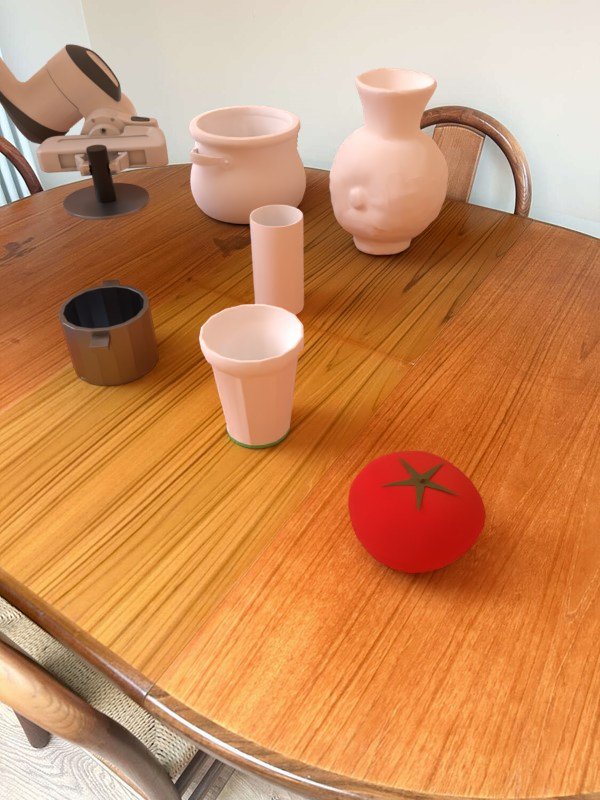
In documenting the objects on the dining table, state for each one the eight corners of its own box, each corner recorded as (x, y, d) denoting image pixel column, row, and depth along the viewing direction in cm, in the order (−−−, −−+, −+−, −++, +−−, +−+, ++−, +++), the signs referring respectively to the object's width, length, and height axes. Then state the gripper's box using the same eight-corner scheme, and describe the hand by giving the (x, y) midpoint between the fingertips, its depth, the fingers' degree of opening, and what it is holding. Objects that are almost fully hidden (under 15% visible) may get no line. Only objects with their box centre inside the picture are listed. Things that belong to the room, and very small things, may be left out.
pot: (260, 174, 156) (256, 95, 145) (332, 204, 142) (334, 120, 131) (168, 205, 143) (155, 121, 131) (237, 242, 129) (230, 152, 117)
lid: (58, 226, 99) (42, 166, 93) (70, 191, 109) (57, 135, 103) (148, 220, 100) (138, 161, 94) (152, 186, 110) (143, 131, 104)
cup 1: (274, 288, 115) (271, 200, 105) (313, 302, 111) (313, 212, 101) (245, 308, 110) (238, 218, 100) (284, 324, 106) (281, 232, 96)
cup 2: (294, 391, 93) (292, 297, 83) (314, 451, 83) (315, 354, 74) (206, 404, 91) (194, 309, 81) (217, 467, 81) (204, 369, 72)
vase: (412, 279, 117) (433, 101, 97) (309, 251, 125) (309, 82, 106) (452, 239, 129) (476, 73, 109) (355, 215, 137) (363, 58, 118)
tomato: (324, 553, 71) (325, 488, 64) (377, 479, 80) (383, 414, 73) (448, 614, 65) (463, 549, 59) (491, 527, 74) (509, 461, 67)
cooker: (66, 401, 92) (49, 346, 85) (82, 331, 105) (68, 278, 99) (156, 393, 93) (145, 338, 87) (160, 324, 106) (151, 272, 100)
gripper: (39, 123, 107) (23, 153, 97) (166, 117, 109) (163, 145, 99) (49, 162, 111) (35, 194, 101) (171, 155, 113) (169, 186, 103)
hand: (99, 170), depth 100 cm, fingers closed on lid, 3 cm apart
